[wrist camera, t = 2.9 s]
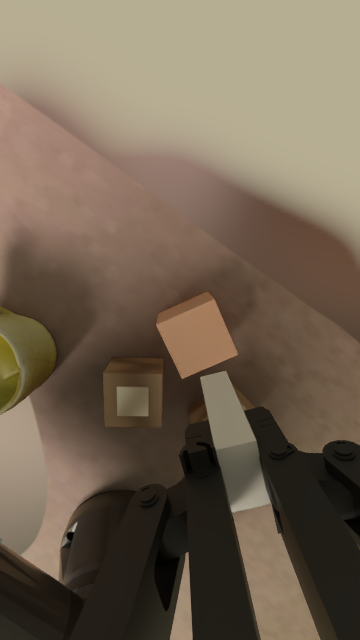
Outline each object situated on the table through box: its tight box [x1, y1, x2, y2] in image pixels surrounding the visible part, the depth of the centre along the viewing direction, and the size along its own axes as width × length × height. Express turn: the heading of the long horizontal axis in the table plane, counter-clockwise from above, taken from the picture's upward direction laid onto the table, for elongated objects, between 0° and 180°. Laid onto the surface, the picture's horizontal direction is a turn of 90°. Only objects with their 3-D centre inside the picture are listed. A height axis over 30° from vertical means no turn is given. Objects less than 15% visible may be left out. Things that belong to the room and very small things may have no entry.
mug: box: [0, 306, 57, 415], centre depth 31 cm, size 12×10×10 cm
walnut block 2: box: [188, 383, 256, 424], centre depth 35 cm, size 6×6×5 cm
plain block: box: [156, 291, 238, 379], centre depth 32 cm, size 6×6×6 cm
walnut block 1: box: [103, 357, 164, 428], centre depth 34 cm, size 6×6×5 cm
